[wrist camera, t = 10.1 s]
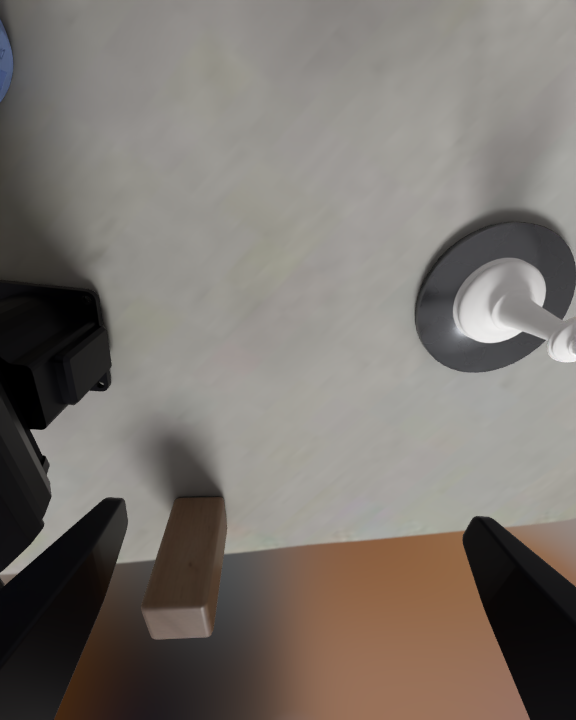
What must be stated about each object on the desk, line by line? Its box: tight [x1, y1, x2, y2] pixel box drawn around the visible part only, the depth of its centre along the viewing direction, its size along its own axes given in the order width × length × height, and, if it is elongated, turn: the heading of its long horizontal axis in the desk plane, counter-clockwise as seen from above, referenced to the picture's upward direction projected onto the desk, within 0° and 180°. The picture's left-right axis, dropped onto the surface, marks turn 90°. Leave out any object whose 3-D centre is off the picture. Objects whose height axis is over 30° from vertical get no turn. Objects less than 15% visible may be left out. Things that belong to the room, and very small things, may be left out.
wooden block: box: [141, 497, 227, 639], centre depth 24 cm, size 4×4×8 cm
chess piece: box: [453, 258, 576, 362], centre depth 15 cm, size 5×5×10 cm
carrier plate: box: [415, 222, 576, 373], centre depth 19 cm, size 9×9×1 cm
